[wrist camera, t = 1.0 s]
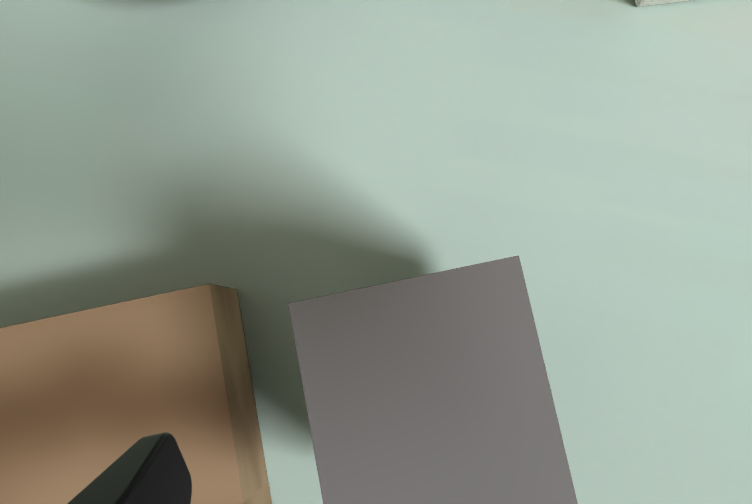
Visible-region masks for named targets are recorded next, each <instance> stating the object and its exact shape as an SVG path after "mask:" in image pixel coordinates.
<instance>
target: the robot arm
mask: <svg viewBox="0 0 752 504" xmlns="http://www.w3.org/2000/svg"><path fill="white" fill-rule="evenodd" d="M191 496H192V480H191V475H190V472H189V470H188V467H187V465H186V463H185V460H184V458H183V456H182V453H181V451H180V449H179V446H178V444H177V442H176V440H175V438H174V436H173V435H172V434H170V433H168V432H164V433H159V434H154V435H149V436H145V437H142V438H140V439H139V440H138V441H137V442H136V443H135V444H133V445H132V446H131V447H130V448H129V449H128V450H127V451H126V452H124V453H123V454H122V455H121V456H120V457H119V458H118V459H117V460H116V461H114V462H113V463H112V464H111V465H110V466H109V467H108V468H107V469H105V470H104V471H103V472H102V473H101V474H100V475H99V476H98V477H96V478H95V479H94V480H93V481H92V482H91V483H90V484H89V485H87V486H86V487H85V488H84V489H83V490H82V491H81V492H80V493H79V494H77V495H76V496H75V497H74V498H73V499H72V500H71V501H70V502H68V503H67V504H191Z"/></svg>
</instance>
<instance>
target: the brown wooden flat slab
mask: <svg viewBox="0 0 752 504" xmlns="http://www.w3.org/2000/svg"><path fill="white" fill-rule="evenodd" d="M164 432H168V433H170V434H172V435H173V436H174V438H175V440H176V442H177V444H178V446H179V449H180V451H181V453H182V456H183V458H184V460H185V463H186V465H187V467H188V470H189V472H190V475H191V480H192V496H191V504H272V502H271V496H270V490H269V483H268V477H267V471H266V465H265V459H264V453H263V447H262V441H261V435H260V429H259V422H258V416H257V410H256V404H255V398H254V392H253V386H252V380H251V374H250V367H249V361H248V355H247V349H246V343H245V337H244V331H243V325H242V319H241V313H240V306H239V300H238V294H237V289H232V288H227V287H223V286H218V285H213V284H205V285H200V286H196V287H191V288H186V289H182V290H177V291H172V292H168V293H163V294H158V295H153V296H149V297H144V298H139V299H135V300H130V301H125V302H121V303H116V304H111V305H106V306H102V307H97V308H92V309H88V310H83V311H78V312H73V313H69V314H64V315H59V316H55V317H50V318H45V319H41V320H36V321H31V322H26V323H22V324H17V325H12V326H8V327H3V328H0V504H67V503H68V502H70V501H71V500H72V499H73V498H74V497H75V496H76V495H77V494H79V493H80V492H81V491H82V490H83V489H84V488H85V487H86V486H87V485H89V484H90V483H91V482H92V481H93V480H94V479H95V478H96V477H98V476H99V475H100V474H101V473H102V472H103V471H104V470H105V469H107V468H108V467H109V466H110V465H111V464H112V463H113V462H114V461H116V460H117V459H118V458H119V457H120V456H121V455H122V454H123V453H124V452H126V451H127V450H128V449H129V448H130V447H131V446H132V445H133V444H135V443H136V442H137V441H138V440H139V439H140V438H142V437H145V436H149V435H154V434H159V433H164Z"/></svg>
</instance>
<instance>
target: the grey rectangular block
mask: <svg viewBox="0 0 752 504" xmlns="http://www.w3.org/2000/svg"><path fill="white" fill-rule="evenodd" d="M288 306H289V311H290V317H291V323H292V328H293V334H294V340H295V345H296V351H297V357H298V362H299V368H300V374H301V379H302V385H303V391H304V396H305V402H306V408H307V413H308V419H309V425H310V430H311V436H312V442H313V447H314V453H315V459H316V464H317V470H318V476H319V481H320V487H321V493H322V499H323V504H578V503H577V499H576V495H575V491H574V486H573V482H572V478H571V474H570V470H569V465H568V461H567V457H566V453H565V449H564V444H563V440H562V436H561V432H560V427H559V423H558V419H557V415H556V411H555V406H554V402H553V398H552V394H551V389H550V385H549V381H548V377H547V373H546V368H545V364H544V360H543V356H542V352H541V347H540V343H539V339H538V335H537V330H536V326H535V322H534V318H533V314H532V309H531V305H530V301H529V297H528V292H527V288H526V284H525V280H524V276H523V271H522V267H521V263H520V259H519V256H514V257H509V258H504V259H499V260H495V261H490V262H485V263H480V264H475V265H471V266H466V267H461V268H456V269H451V270H447V271H442V272H437V273H432V274H427V275H422V276H418V277H413V278H408V279H403V280H398V281H394V282H389V283H384V284H379V285H374V286H370V287H365V288H360V289H355V290H350V291H346V292H341V293H336V294H331V295H326V296H322V297H317V298H312V299H307V300H302V301H298V302H293V303H288Z"/></svg>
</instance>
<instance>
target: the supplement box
mask: <svg viewBox="0 0 752 504" xmlns="http://www.w3.org/2000/svg"><path fill="white" fill-rule="evenodd" d="M683 1H691V0H635V4H636V6H639V7H641V6H649V5H657V4H666V3H675V2H683Z"/></svg>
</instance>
